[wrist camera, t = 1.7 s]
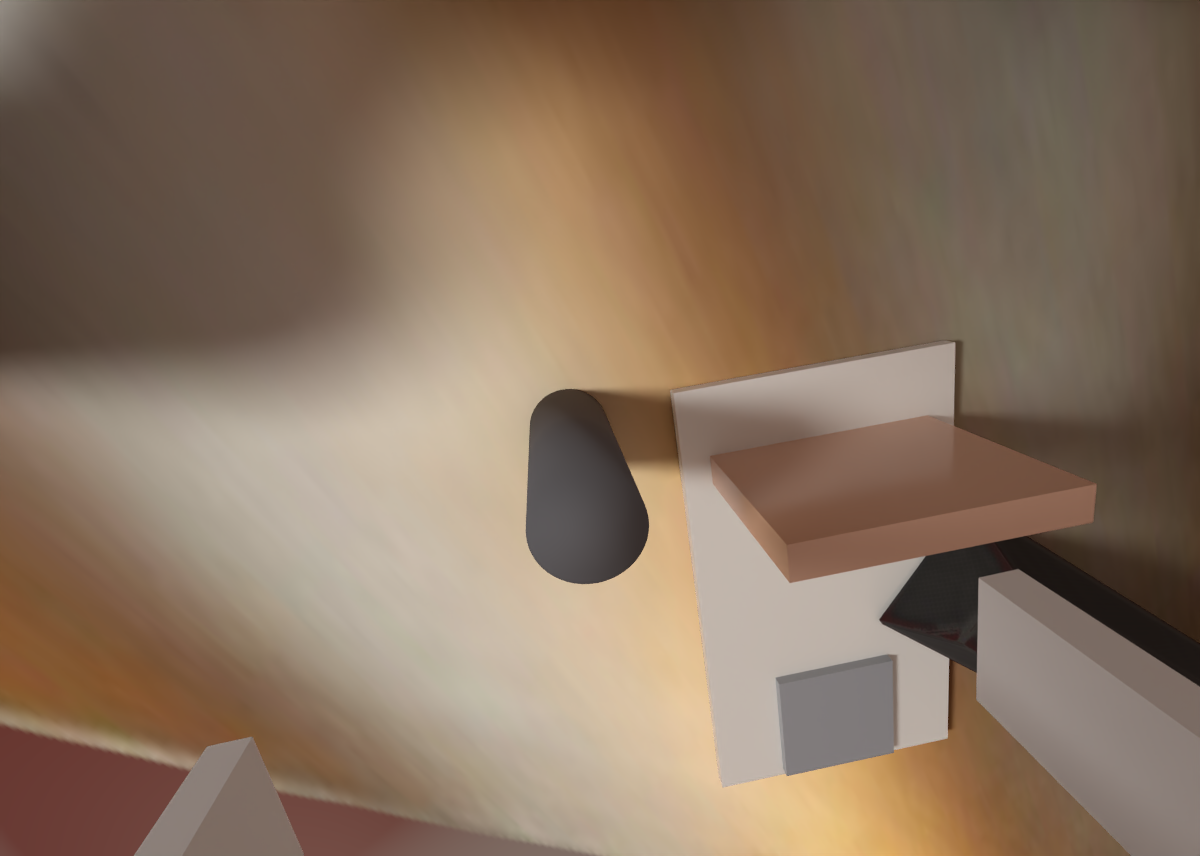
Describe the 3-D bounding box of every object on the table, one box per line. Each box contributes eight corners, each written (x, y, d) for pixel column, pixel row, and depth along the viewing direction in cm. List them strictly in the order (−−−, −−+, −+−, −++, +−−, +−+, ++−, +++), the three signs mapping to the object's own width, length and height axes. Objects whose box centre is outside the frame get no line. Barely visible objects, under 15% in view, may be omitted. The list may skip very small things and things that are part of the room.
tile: (712, 486, 31) (789, 586, 22) (709, 455, 31) (787, 544, 21) (927, 445, 32) (1092, 525, 23) (927, 415, 32) (1096, 484, 22)
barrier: (874, 620, 35) (1012, 756, 25) (964, 497, 33) (1146, 592, 24) (1122, 747, 41) (1308, 895, 31) (1207, 648, 39) (1430, 772, 30)
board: (718, 776, 38) (725, 795, 37) (669, 389, 31) (676, 395, 29) (939, 728, 39) (953, 745, 38) (945, 340, 31) (963, 343, 30)
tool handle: (537, 469, 31) (538, 594, 20) (523, 396, 30) (514, 484, 18) (612, 455, 31) (656, 571, 20) (600, 382, 30) (640, 460, 19)
